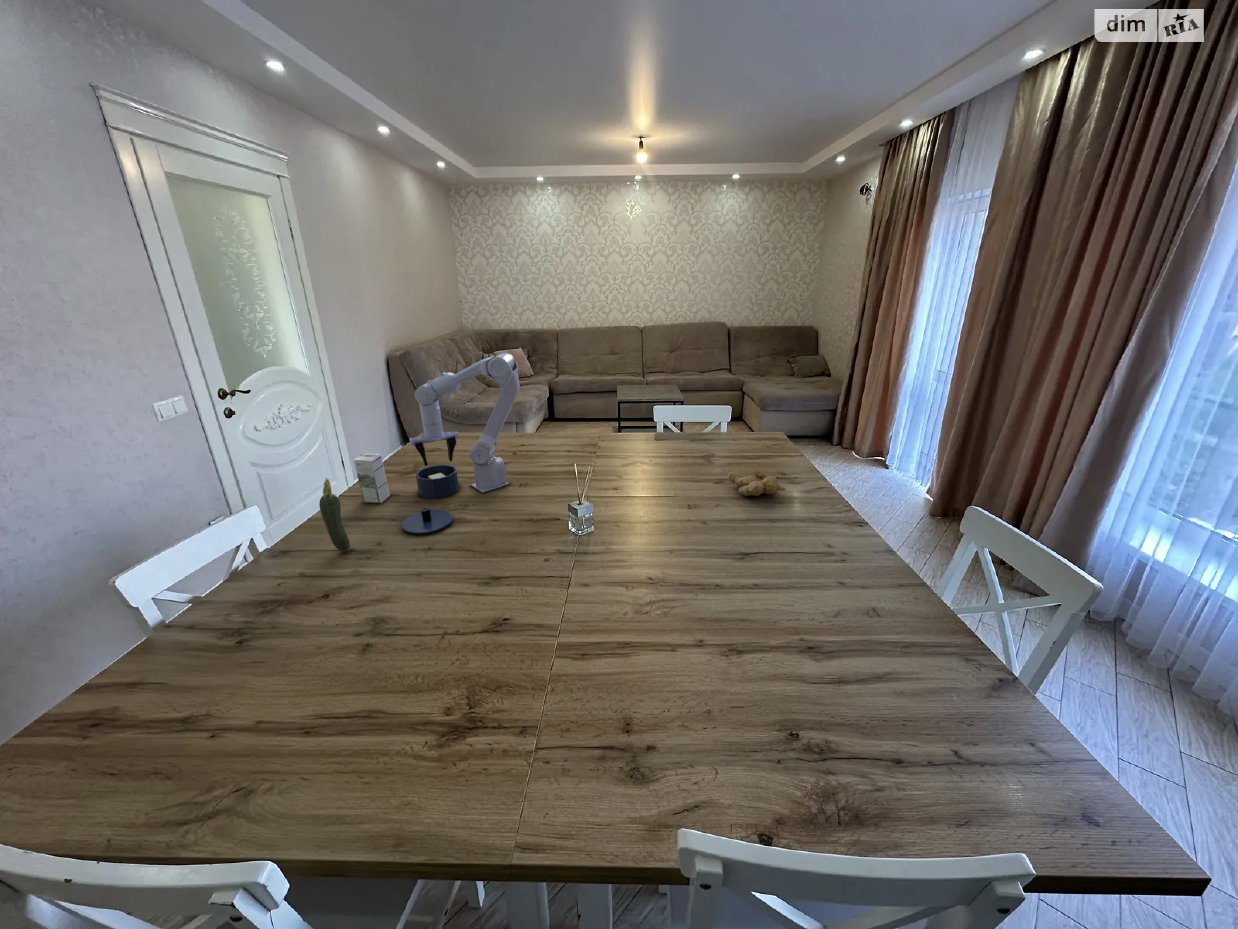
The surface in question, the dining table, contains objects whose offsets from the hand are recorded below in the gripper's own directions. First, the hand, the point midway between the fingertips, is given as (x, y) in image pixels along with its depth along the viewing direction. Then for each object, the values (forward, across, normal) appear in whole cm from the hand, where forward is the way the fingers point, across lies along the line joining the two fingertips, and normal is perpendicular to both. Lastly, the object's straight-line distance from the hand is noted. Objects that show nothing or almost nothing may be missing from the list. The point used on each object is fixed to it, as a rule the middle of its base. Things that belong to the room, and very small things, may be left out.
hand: (438, 462), depth 156 cm
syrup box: (+9, -20, 0) cm, 21 cm away
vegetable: (+9, -30, -30) cm, 43 cm away
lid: (+8, -8, -25) cm, 27 cm away
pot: (+8, -1, -3) cm, 9 cm away
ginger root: (+9, +86, -55) cm, 103 cm away
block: (+8, -1, -3) cm, 9 cm away
